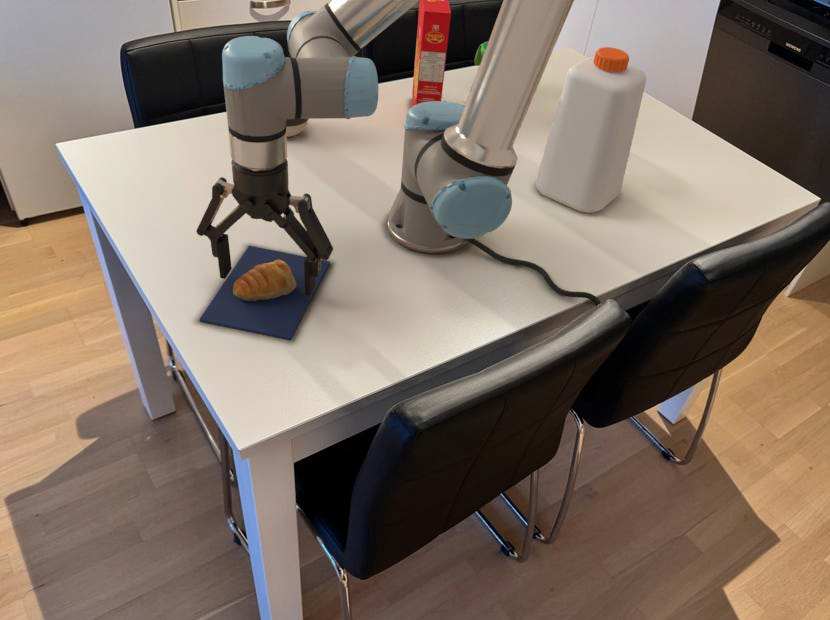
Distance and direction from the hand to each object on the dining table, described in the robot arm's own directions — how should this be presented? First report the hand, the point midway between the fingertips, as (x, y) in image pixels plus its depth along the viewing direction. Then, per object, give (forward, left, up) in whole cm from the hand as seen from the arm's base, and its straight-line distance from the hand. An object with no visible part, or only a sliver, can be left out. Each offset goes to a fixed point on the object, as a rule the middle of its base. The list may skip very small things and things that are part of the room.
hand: (268, 282), depth 115 cm
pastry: (0, 0, -2) cm, 2 cm away
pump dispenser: (+15, -52, -2) cm, 54 cm away
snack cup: (-25, -92, -2) cm, 95 cm away
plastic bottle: (-47, -50, -2) cm, 68 cm away
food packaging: (-11, -70, -2) cm, 71 cm away
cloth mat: (0, 0, -2) cm, 2 cm away
